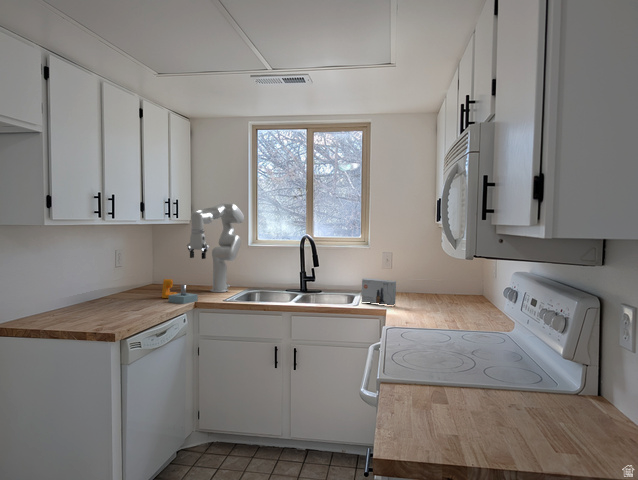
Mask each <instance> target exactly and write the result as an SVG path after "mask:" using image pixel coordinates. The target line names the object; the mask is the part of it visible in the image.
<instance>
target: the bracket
mask: <svg viewBox="0 0 638 480" xmlns="http://www.w3.org/2000/svg"><path fill="white" fill-rule="evenodd" d="M173 285H174V281H173V278H164V279H163V282H162V291H161V298H162V299H169V295H173V294H178V291H177V292H175V291H171V290H170V289H172V288H173Z"/></svg>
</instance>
